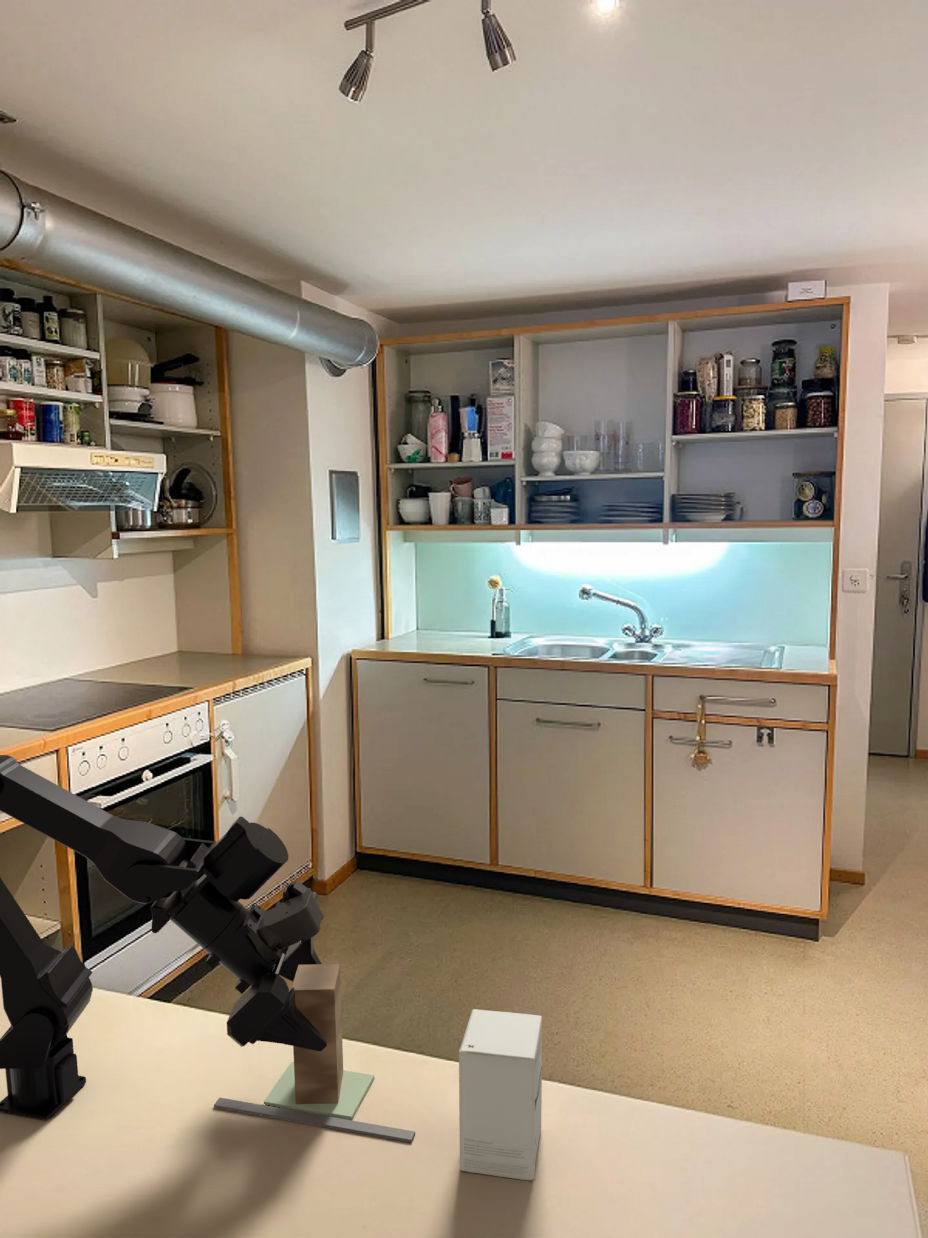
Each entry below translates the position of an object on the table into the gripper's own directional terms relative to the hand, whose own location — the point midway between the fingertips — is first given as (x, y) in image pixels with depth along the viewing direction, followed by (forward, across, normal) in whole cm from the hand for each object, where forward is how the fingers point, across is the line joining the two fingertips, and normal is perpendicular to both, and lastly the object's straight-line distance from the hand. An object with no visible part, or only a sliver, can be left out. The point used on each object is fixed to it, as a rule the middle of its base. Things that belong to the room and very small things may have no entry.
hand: (330, 1021), depth 95 cm
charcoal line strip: (+5, -4, +7) cm, 9 cm away
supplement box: (+19, -9, -7) cm, 22 cm away
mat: (+5, 0, +7) cm, 8 cm away
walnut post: (+5, 0, +6) cm, 8 cm away
